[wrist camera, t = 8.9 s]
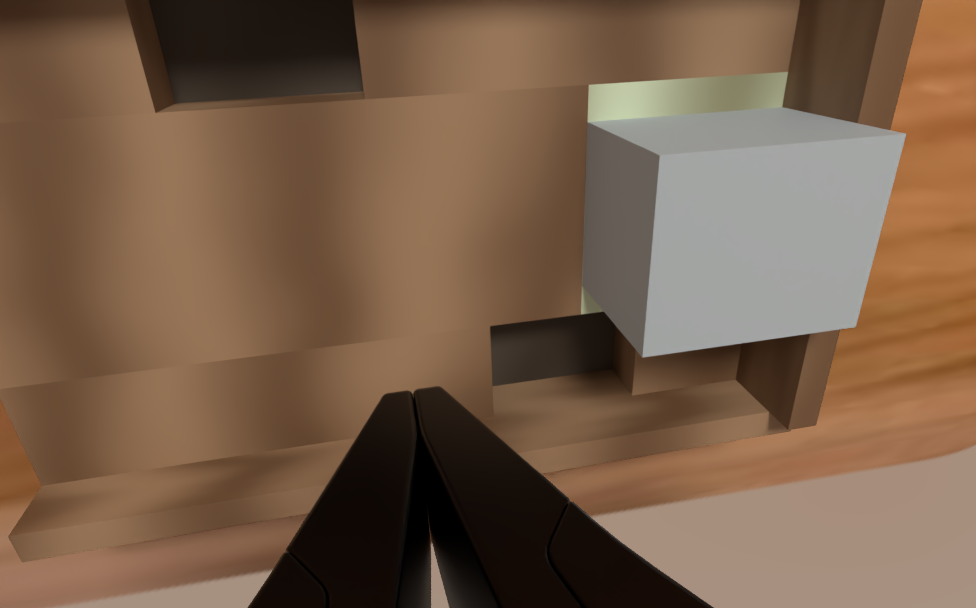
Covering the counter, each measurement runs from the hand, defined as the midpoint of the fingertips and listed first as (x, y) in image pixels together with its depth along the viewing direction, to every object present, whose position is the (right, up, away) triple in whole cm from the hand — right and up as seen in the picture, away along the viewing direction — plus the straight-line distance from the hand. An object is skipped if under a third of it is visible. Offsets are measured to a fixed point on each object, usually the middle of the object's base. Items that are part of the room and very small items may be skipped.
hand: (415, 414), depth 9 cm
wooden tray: (-1, +5, +10) cm, 11 cm away
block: (+7, +5, +9) cm, 13 cm away
